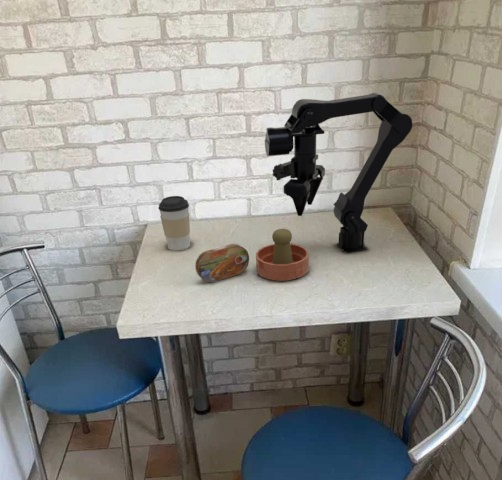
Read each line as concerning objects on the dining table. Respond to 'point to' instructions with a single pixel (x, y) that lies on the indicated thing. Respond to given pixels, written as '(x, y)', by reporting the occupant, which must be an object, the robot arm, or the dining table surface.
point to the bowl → (282, 270)
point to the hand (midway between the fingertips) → (304, 210)
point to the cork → (282, 247)
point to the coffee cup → (175, 222)
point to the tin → (222, 262)
